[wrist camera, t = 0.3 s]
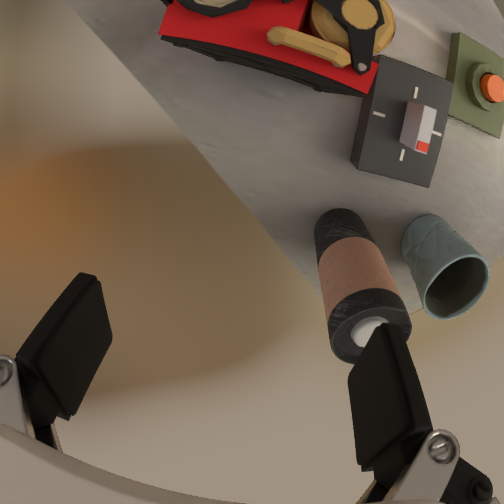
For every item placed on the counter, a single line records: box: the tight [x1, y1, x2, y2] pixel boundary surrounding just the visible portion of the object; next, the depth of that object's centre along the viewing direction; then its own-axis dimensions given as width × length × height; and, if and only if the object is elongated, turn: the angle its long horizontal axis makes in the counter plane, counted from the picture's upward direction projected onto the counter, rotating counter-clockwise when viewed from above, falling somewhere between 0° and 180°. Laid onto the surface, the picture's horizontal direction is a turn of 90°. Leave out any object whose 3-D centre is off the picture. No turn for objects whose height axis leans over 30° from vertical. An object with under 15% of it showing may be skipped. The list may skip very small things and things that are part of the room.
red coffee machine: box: [158, 0, 396, 97], centre depth 20 cm, size 16×10×20 cm, turn 73°
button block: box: [446, 32, 504, 139], centre depth 25 cm, size 12×10×4 cm
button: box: [480, 74, 504, 102], centre depth 23 cm, size 4×4×2 cm
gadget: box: [350, 55, 454, 188], centre depth 30 cm, size 14×10×4 cm
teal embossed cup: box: [401, 215, 490, 320], centre depth 35 cm, size 10×10×12 cm
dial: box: [399, 102, 437, 154], centre depth 27 cm, size 5×2×5 cm, turn 173°
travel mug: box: [314, 208, 412, 364], centre depth 32 cm, size 8×8×20 cm
